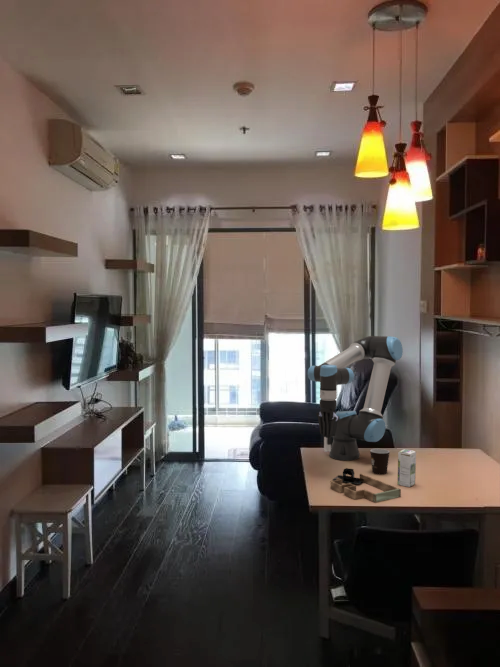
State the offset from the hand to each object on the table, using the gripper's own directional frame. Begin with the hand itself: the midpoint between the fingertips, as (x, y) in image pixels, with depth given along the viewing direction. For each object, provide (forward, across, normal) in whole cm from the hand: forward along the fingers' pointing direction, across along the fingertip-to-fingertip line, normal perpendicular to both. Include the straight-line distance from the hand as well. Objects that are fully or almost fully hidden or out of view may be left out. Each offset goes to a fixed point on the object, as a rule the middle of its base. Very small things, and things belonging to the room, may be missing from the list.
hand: (327, 451), depth 243 cm
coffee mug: (+11, +9, +24) cm, 28 cm away
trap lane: (+11, +25, 0) cm, 27 cm away
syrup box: (+11, +29, +20) cm, 36 cm away
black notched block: (+13, +12, +2) cm, 18 cm away
